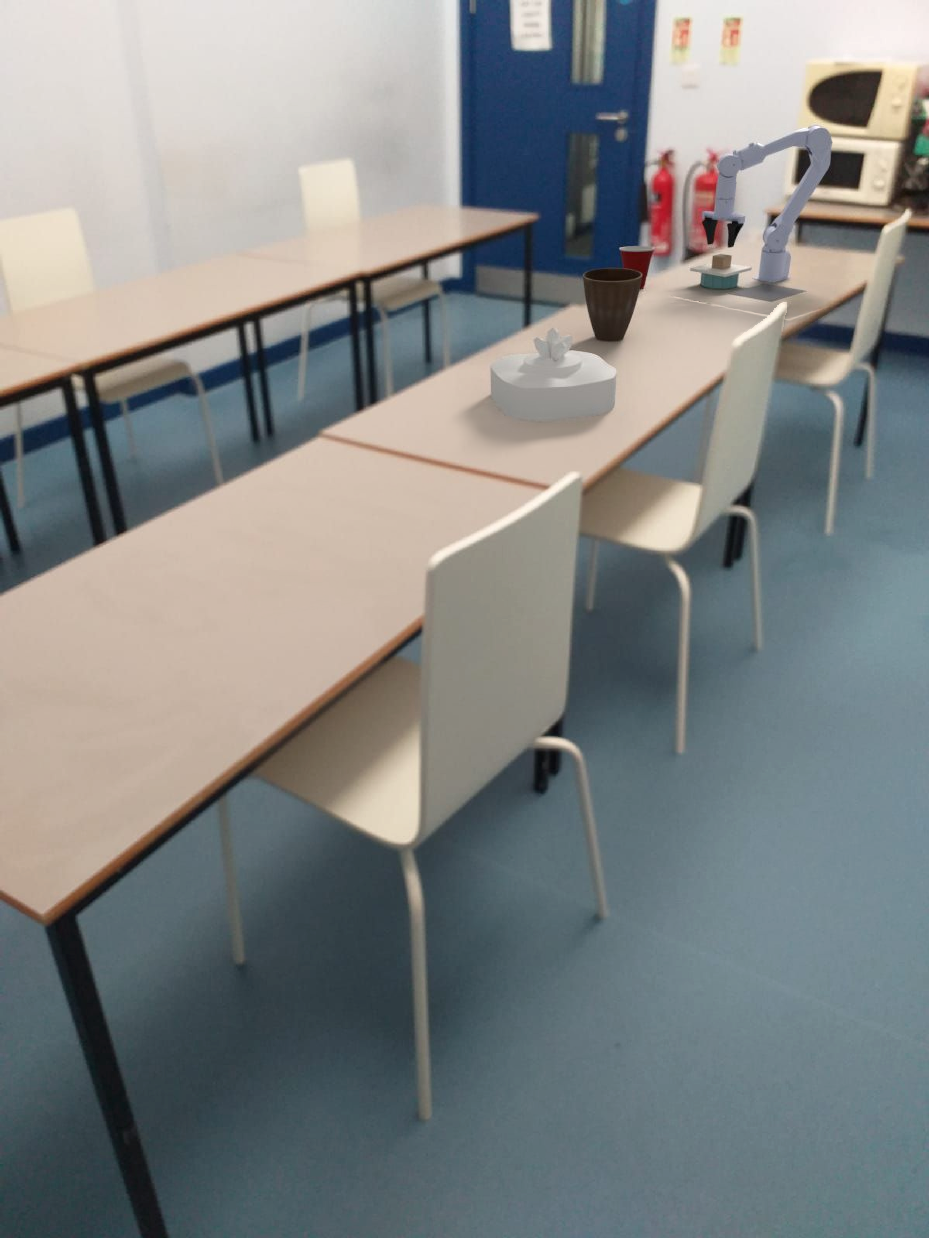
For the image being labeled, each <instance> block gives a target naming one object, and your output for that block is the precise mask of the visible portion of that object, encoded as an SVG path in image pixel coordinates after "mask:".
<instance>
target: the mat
mask: <svg viewBox="0 0 929 1238" xmlns="http://www.w3.org/2000/svg"><path fill="white" fill-rule="evenodd" d="M804 292H806V290H804V289H803V290H802V289H799V288H798V289H797V288H794V287H785V286H781V285H774V284H769V283H764V282H763V283H760V284H757V285H754V286H750V287H746V288H743V289H740V290H736V291H732V292H728V295H732V296H737V297H738V296H739V297H743V298H748V299H754V300H759V301H763V302H764V301H765V302H770V303H772V302H776V301H778V300H782V299H785V298H788V297H792V296H795V295H798V294H801V293H804Z"/></svg>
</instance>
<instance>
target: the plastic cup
mask: <svg viewBox="0 0 929 1238" xmlns="http://www.w3.org/2000/svg"><path fill="white" fill-rule="evenodd" d="M655 250H656V247H654V246H647V245H643V246H642V245H633V246H632V245H631V246H629V245H628V246H623V247H619V251H620V256H621V261H622V262H621V263H622V268H624V269H632V270H636V271H639V272H641V273H642V280H641V285H640V290H641V289H645V288H644V287H645V285H646V282H647V277H648V273H649V269H650V264H651V260H652V257H653V254H654V251H655Z"/></svg>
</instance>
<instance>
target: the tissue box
mask: <svg viewBox="0 0 929 1238" xmlns="http://www.w3.org/2000/svg"><path fill="white" fill-rule="evenodd" d="M533 344H534V347H535V349H536V351H537V352H535V353H534V352H533V353H519V354H518V353H517V354H510V355H506V356H502V357H500V358H498V359H496V360H494V361H493V362H491V364H490V400H491V401H492V402H493V404H494V405H495V406H496V407H497V408H498V410H499V411H500V412H501V413H503V415H505V416H506V417H509V418H511V419H514V420H517V421H523V422H531V423H532V422H535V423H536V422H537V423H544V422H547V423H548V422H555V421H556V422H557V421H565V420H566V421H567V420H574V419H580V418H589V417H594V416H599V415H603V414H607V413H608V412H611V411H613V410H614V408H615V405H616V394H617V393H616V390H617V376H618V375H617V369H616V368H615V367H614V366H612V365H611V364H608V363H607V362H606V361H605V360H604V359H603V358H602V357H601V356H599V355H597V354H595V353H593V352H592V353H591V352H587V351H580V350H573V349H572V350H570V349H571V348H572V345H573V337H572V335H569V334H568V335H563V336H562V337H561V335H560V332H559V331H558V329H556V328H555V327H551V328H550V329H549V330H548V331H547V333H546V336H545V339H544V338H541V337H538V336H536V337H535V338H534V339H533Z"/></svg>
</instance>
